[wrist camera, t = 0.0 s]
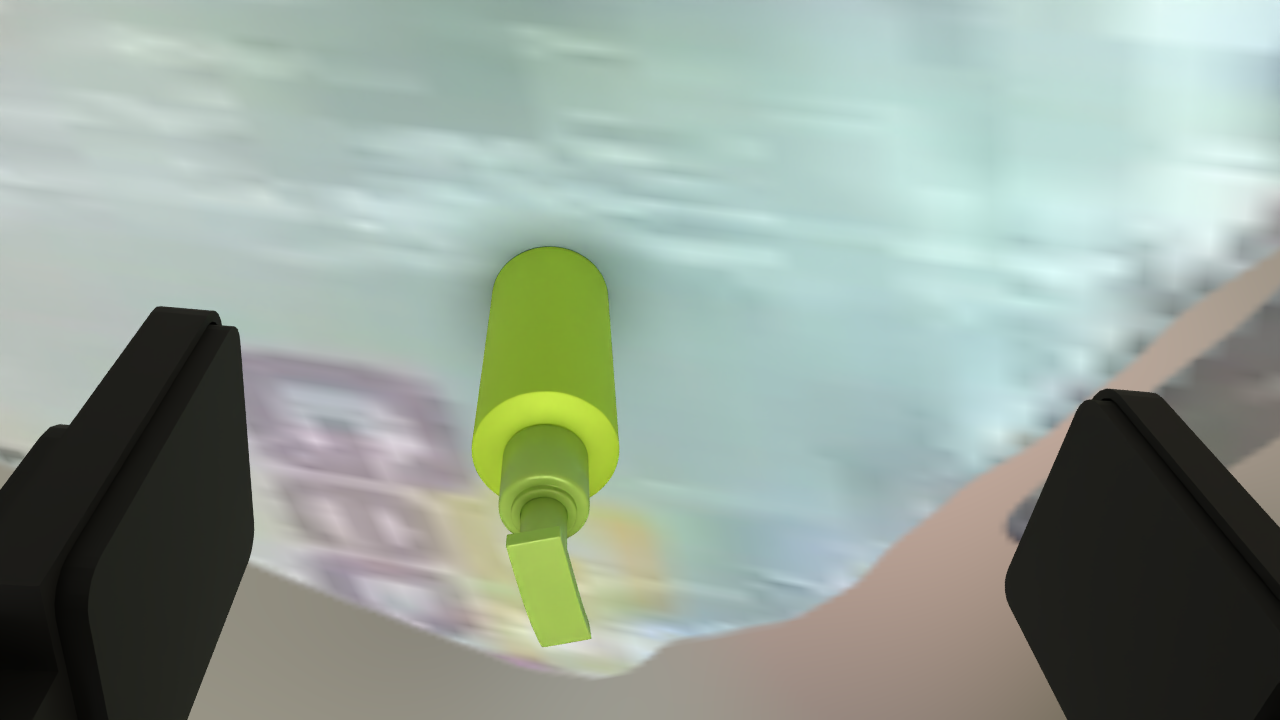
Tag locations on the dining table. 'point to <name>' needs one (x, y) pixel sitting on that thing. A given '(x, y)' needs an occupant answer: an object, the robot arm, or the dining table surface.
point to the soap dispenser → (547, 423)
